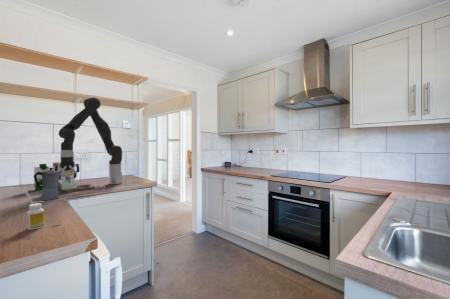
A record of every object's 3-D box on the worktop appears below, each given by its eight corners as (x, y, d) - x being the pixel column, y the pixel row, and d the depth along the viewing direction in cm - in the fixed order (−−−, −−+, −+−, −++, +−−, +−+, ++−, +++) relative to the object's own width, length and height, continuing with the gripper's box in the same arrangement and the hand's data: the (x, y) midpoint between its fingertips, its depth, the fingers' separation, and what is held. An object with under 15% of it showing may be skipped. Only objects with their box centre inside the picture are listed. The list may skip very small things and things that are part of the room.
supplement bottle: (47, 225, 92) (47, 202, 92) (34, 230, 87) (34, 206, 86) (37, 224, 93) (36, 202, 92) (23, 229, 87) (23, 205, 87)
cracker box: (59, 190, 161) (58, 162, 161) (52, 190, 162) (51, 162, 162) (75, 186, 175) (75, 161, 174) (69, 186, 176) (68, 160, 176)
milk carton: (36, 192, 155) (36, 164, 154) (33, 190, 160) (32, 164, 159) (52, 190, 162) (51, 163, 161) (47, 188, 167) (47, 163, 166)
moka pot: (67, 197, 140) (66, 166, 140) (40, 203, 126) (39, 169, 125) (57, 196, 143) (56, 166, 143) (29, 202, 129) (28, 168, 128)
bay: (90, 187, 171) (89, 176, 170) (95, 190, 161) (94, 178, 161) (53, 192, 154) (53, 180, 154) (56, 195, 145) (56, 182, 145)
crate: (73, 188, 162) (73, 174, 161) (77, 190, 154) (76, 176, 154) (58, 190, 155) (58, 176, 155) (61, 192, 148) (61, 177, 148)
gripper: (77, 155, 162) (77, 177, 162) (53, 156, 152) (54, 179, 152) (80, 156, 157) (80, 178, 157) (55, 156, 146) (55, 180, 147)
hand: (67, 178), depth 154 cm, fingers open, 8 cm apart
